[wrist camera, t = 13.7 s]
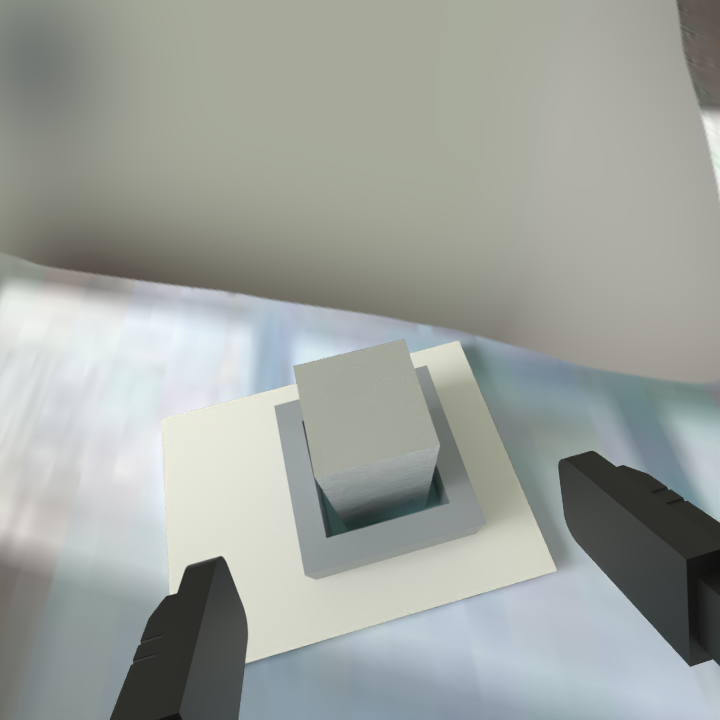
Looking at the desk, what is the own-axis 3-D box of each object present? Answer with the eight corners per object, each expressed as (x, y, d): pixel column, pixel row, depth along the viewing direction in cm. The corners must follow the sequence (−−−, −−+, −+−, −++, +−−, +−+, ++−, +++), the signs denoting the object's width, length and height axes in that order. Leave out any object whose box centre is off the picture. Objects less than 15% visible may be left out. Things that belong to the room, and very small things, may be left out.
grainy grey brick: (346, 528, 23) (314, 477, 14) (330, 452, 25) (293, 366, 16) (424, 508, 23) (440, 445, 14) (402, 434, 25) (404, 338, 16)
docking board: (184, 681, 21) (140, 695, 18) (170, 426, 28) (134, 398, 24) (550, 572, 22) (579, 565, 19) (456, 350, 29) (465, 311, 25)
